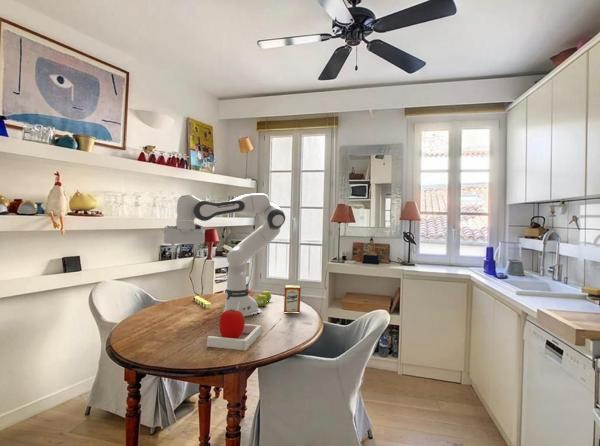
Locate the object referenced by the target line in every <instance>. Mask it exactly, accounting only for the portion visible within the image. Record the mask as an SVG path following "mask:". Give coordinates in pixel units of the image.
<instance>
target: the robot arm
mask: <svg viewBox="0 0 600 446" xmlns="http://www.w3.org/2000/svg"><path fill="white" fill-rule="evenodd" d="M231 213H232V214H239V215H252V214H256V213H259V214H260V215H261V216H262V218H263V219H264V222H263V224H262V225H260V226H259V227H258V228H257V229H255V230H254V231H252V232H251V233H250V234H249V235H248V236H246V237H245V238H244V239H243V240H241V241H240V242H238V243H237V244H236V245H235V246H234V247H232V248H231V249H230V250H229V251H228V252H227V255H226V260H227V263H228V267H227V276H226V289H225V304H224V305H225V306H224V308H223V312H225V311H226V310H231V309H232V310H237V311H240V312H241V313H242V314H243V316H244V317H248V316H253V314H254V315H258V314H257V313H259V314H262V313H261V312H263V311H262V309H261V308H259V306H258V304H257V302H256V299H254V298H253V297H252V296H251V295H250V294H251V293H252V290H250V289H247V273H248V272H247V271H248V270H247V269H248V261H249V260H250V259H252V258H253V257H254V256H255V255H256V254H257V253H259V252H260V251H261V250H262V249H264V248H265V247H266V246H268V244H270V243H271V242H272V241H273V240H274V239H275V238H276V237H278V235H279V234H280V232H281V227H282V226H283V225H284V223H285V221H286V215H285V213H284V211H283V210H282V209H281V207H279V205H277V204H276V203H275V202H273V201H272V200H270V198H269V196H268V195H267V194H266V193H247V194H243V195H240V196H237V197H236V198H234V199H231V200H228V201H227V200H226V201H220V202H211V201H208V200H201V199H199V198H197V197H195V196H194V195H193V194H187V195H181V196H180V197H179V198H178V199H177V204H176V215H177V216H176V219H175V220H176V221H175V224H176V225H167V226H164V228H163V234H164V237H163V242H164V244H169V245H170V246H171V248H172V252H173V254H174V253H177V250H178V249H177V248H175V247H174V246H175V245H177V244H180V245H181V244H182V245H184V244H186V245H187V244H188V245H189V244H190V245H191V244H194V245H193V246H194V247H193V248H191V253H196V249H197V248H198V247H199V245H201V244H204V243H205V242H206V241H205V240H206V238H205V237H206V235H205V232H204V226H203V225H200V224H198V223H195V219H198V220H200V221H202V222H204V221H205V222H206V221H209V220H212V219H213V218H215V217H216V216H219V215H227V214H231ZM198 244H199V245H198ZM223 312H222V313H223Z"/></svg>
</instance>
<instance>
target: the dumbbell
mask: <svg viewBox="0 0 600 446" xmlns="http://www.w3.org/2000/svg"><path fill="white" fill-rule="evenodd" d="M271 299H272V294H271V292H270V291H267V290H265V291H262V292H261V294H258V295H257V296H256V298H255V300H256V302H257V304H258V307H259V306H264V307H265V305H266V304H267V303H268V302H267V301H269V302H270V300H271Z"/></svg>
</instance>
